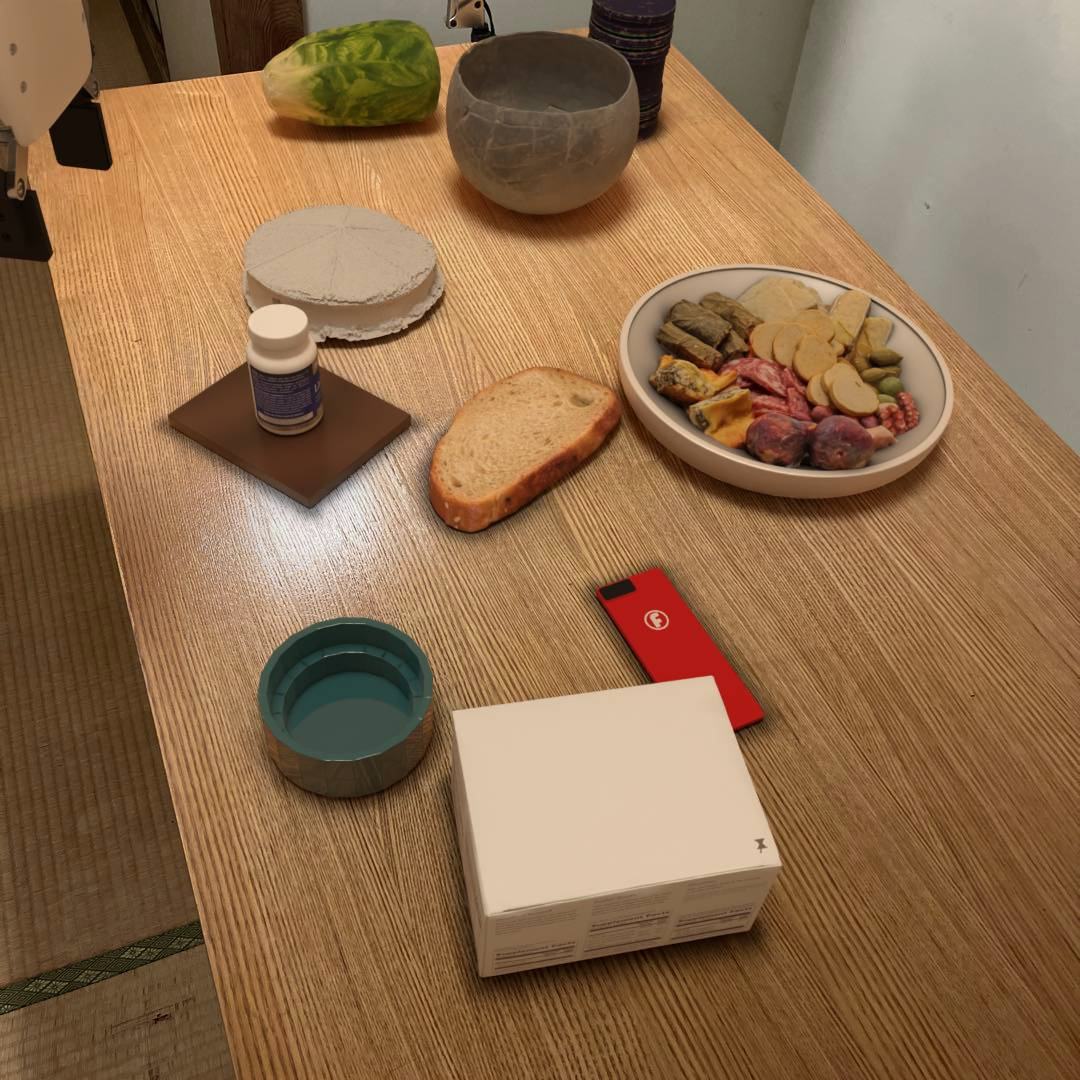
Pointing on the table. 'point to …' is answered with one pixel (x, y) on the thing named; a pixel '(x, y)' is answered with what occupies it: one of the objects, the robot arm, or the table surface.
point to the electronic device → (673, 640)
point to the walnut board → (292, 460)
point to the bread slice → (517, 443)
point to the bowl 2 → (783, 380)
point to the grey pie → (342, 270)
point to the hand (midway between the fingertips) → (56, 209)
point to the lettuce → (356, 76)
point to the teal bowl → (347, 706)
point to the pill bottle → (283, 370)
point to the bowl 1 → (542, 119)
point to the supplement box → (606, 824)
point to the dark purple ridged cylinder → (638, 46)
